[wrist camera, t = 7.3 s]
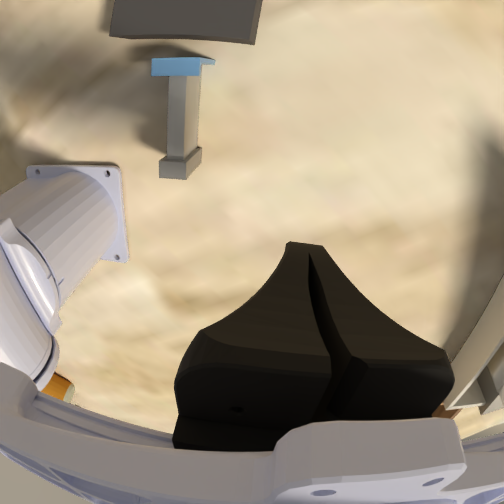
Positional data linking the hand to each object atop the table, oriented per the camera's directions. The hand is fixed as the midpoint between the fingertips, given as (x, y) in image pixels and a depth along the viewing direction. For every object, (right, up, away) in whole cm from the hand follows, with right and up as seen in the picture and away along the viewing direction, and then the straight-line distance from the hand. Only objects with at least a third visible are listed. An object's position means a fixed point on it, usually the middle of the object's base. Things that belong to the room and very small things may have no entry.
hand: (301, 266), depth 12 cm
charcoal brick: (-5, +15, +3) cm, 16 cm away
